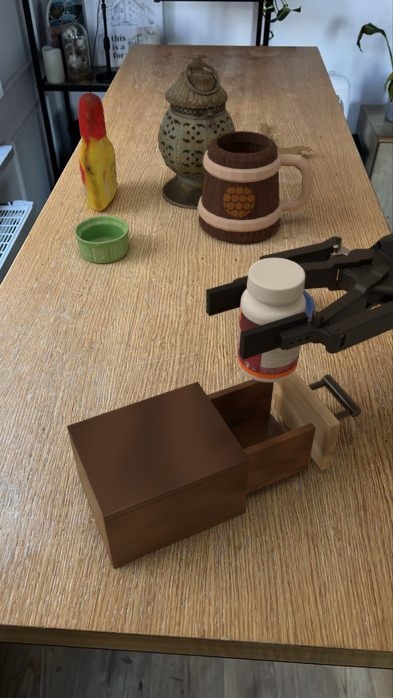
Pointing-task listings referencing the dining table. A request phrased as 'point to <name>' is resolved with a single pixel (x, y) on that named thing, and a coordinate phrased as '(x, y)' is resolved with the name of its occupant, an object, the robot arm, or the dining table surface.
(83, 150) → the bottle
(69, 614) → the dining table surface
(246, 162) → the mug
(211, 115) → the lantern
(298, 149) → the jawbone
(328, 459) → the drawer
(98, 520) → the cabinet
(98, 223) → the ramekin
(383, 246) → the robot arm
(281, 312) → the pill bottle
